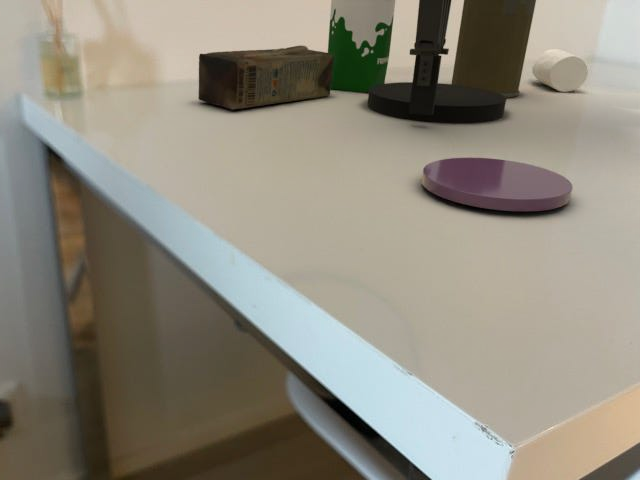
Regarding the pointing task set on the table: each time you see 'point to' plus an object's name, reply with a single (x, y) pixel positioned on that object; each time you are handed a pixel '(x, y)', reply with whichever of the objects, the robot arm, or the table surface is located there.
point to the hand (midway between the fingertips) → (421, 113)
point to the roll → (560, 70)
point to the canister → (493, 44)
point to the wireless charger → (439, 103)
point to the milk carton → (360, 42)
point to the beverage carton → (264, 76)
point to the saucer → (496, 184)
